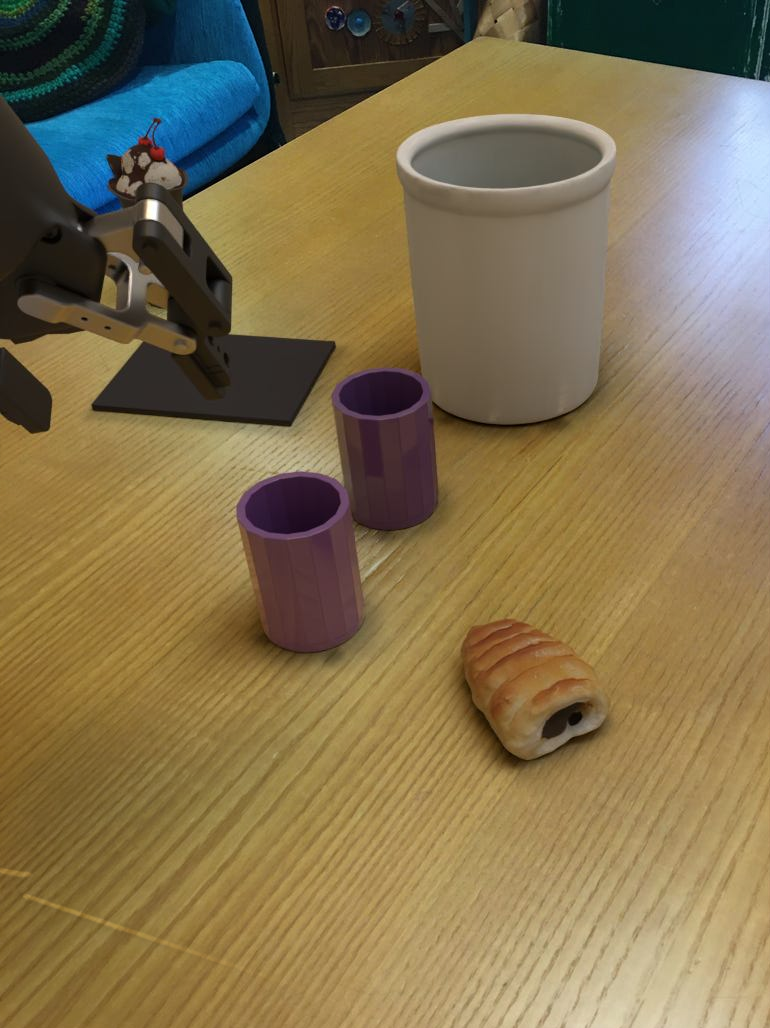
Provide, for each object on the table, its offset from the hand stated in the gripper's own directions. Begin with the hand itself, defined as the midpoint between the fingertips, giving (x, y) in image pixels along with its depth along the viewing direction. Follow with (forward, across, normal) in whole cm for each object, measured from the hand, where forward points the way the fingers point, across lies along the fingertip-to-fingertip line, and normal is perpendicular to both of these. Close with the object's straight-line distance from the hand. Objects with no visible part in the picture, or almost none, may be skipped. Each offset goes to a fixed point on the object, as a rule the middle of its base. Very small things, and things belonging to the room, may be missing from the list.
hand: (129, 400), depth 49 cm
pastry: (+20, -14, +10) cm, 26 cm away
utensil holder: (+34, -12, -21) cm, 42 cm away
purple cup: (+20, -1, +3) cm, 21 cm away
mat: (+30, +10, -24) cm, 40 cm away
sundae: (+36, +17, -37) cm, 54 cm away
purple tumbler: (+26, -5, -7) cm, 27 cm away
